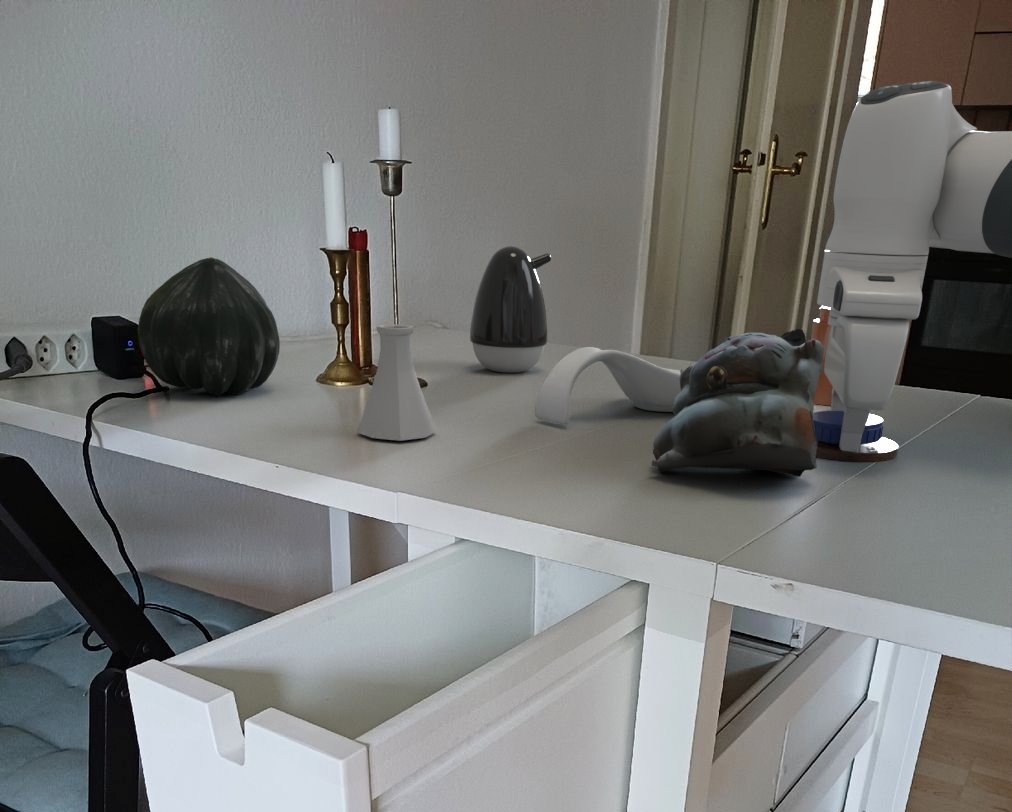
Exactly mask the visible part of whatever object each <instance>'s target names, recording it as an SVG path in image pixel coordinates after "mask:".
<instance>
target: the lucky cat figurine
mask: <svg viewBox="0 0 1012 812" xmlns="http://www.w3.org/2000/svg"><path fill="white" fill-rule="evenodd" d="M824 353H825V350H824V345H822V344H821V342H819V341H818V340H815V339H811V338H810V339H808V340H807V339H806V333H805V332H804V330H803V329H801V328H795V329H792V330H791V331H786V332H784V333H783V334H782V335H781V336H779V335H776V334H766V333H764V332H745V333H743V334H737V335H733V336H729V337H726V338H725V340H723V341H722V342H721V344H719V345H718V346H716V347H715V348H712V349H710V350H708V351H707V352H706V353H705V354H704V355H702V356H701V357H699V359H698V360H697V361H696V362H695V363H692V362H690V365H689V366H688V367H686V368H685V369H682V368H681V369H680V372H681V374H680V388H681V392H680V393H679V394H678V395H677V396H676V398H675V399H674V405H673V409H672V410H673V412H672V413H673V415H674V416H673V417H672V418H670V419H669V420H668V421H667V422H666V423H665V424H664V425H663V426H662V428H661V429H660V430H659V431H658V432H657V434H656V436H655V438H654V439H653V443H652V446H653V449H652V454H653V456H654V459H655V460H652V461H651V466H653V467H656V468H657V470H658V471H659V473H660V474H662V473H664V472H667V471H670V470H674V469H682V468H683V469H684V468H703V469H729V470H730V469H731V470H733V469H734V470H735V469H736V470H753V471H754V470H757V471H758V470H759V471H768V472H774V473H779V474H784V475H788V476H795V477H801V476H802V475H803V473H804V472H805V471H812V470H815V469H817V462H816V461H817V460H816V449H817V437H816V433H815V429H814V423H813V413H814V408H815V407H814V405H815V404H814V397H815V393H816V389H817V386H818V379H819V375H820V374H821V372H822V370H823V356H824Z"/></svg>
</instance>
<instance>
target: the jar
mask: <svg viewBox="0 0 1012 812" xmlns="http://www.w3.org/2000/svg"><path fill="white" fill-rule="evenodd" d="M818 310H819V317H818V318H816V319H813V321H812V328H811V335H810V340H811V339H815V340H818V341H819V342H821V344H822V345H824V350H825V353H824V356H823V370H822V372H821V374H820V375H819V379H818V386H817V389H816V393H815V397H814V405H818V406H819V405H820V406H828V407H829V406H830V407H832V389H833V386H832V384H831V383H830V381H829V380H828V378H827V376H826V375H825V373H824V365H825V357H826V351H827V346H828V340H829V335H830V330H831V326H830V325H829V324H828V318H829V316H830V315H829V312H830V308H828V307H824V306H820V307H819V309H818Z"/></svg>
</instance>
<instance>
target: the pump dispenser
mask: <svg viewBox="0 0 1012 812" xmlns="http://www.w3.org/2000/svg"><path fill="white" fill-rule="evenodd" d="M551 261H552V256H551V254H550V253H548V252H547V253H544V254H541V255H538V256H535V257H533V258H530V257H529V255H528V253H527V252H526V251H525V250H523V249H522V248H520V247H517V246H513V245H508V246H504V247H501V248H499V249H498V250H497V251H495V253H494V254H493V255H492V256H491V258H490V259H489V261H488V263H487V265H486V267H485V269H484V272H483V274H482V277H481V279H480V282H479V285H478V288H477V291H476V295H475V299H474V304H473V307H472V315H471V319H470V320H471V321H470V329H469V341H470V343H472V349H473V352H474V355H475V358H476V359H477V361H478V363H480V364H481V366H483V367H484V368H486V369H487V370H489V371H492V372H497V373H509V374H510V373H511V374H513V373H514V374H515V373H516V374H517V373H524V372H526V371H529V370H530V369H532V368H534V367H535V366H536V365H537V364H538V363H539V361H540V360H541V358H542V356H543V353H544V349H545V345H547V343H548V320H547V312H546V311H547V310H546V304H545V300H544V293H543V289H542V286H541V283H540V280H539V276H538V273H537V270H538V269H540V268H541V267H543V266H545V265H546V264H548V263H549V262H551Z"/></svg>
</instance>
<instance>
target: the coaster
mask: <svg viewBox="0 0 1012 812" xmlns="http://www.w3.org/2000/svg"><path fill="white" fill-rule="evenodd" d="M898 452H899V444H898V443H896V442H895V441H893V440H891V439H888V438H887V437H883V436H882V438H881V439H880V440H879V441H878V442H875V443H871V444H863V445H860V448H859V450H858V451H856V452H849V451H842V450H841V449H840V448H839V445H838V444H832V443H826V442H821V441H817V449H816V456H815V458H820V459H827V460H834V461H842V462H858V463H859V462H863V463H864V462H866V463H869V462H882V461H883V462H884V461H888V460H891V459H894V458H896V457H897V456H898Z"/></svg>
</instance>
